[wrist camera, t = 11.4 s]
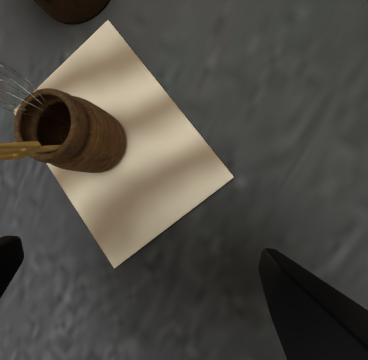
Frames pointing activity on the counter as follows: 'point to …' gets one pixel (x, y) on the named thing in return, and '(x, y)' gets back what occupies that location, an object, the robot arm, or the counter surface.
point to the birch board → (134, 150)
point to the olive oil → (72, 9)
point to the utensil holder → (64, 132)
